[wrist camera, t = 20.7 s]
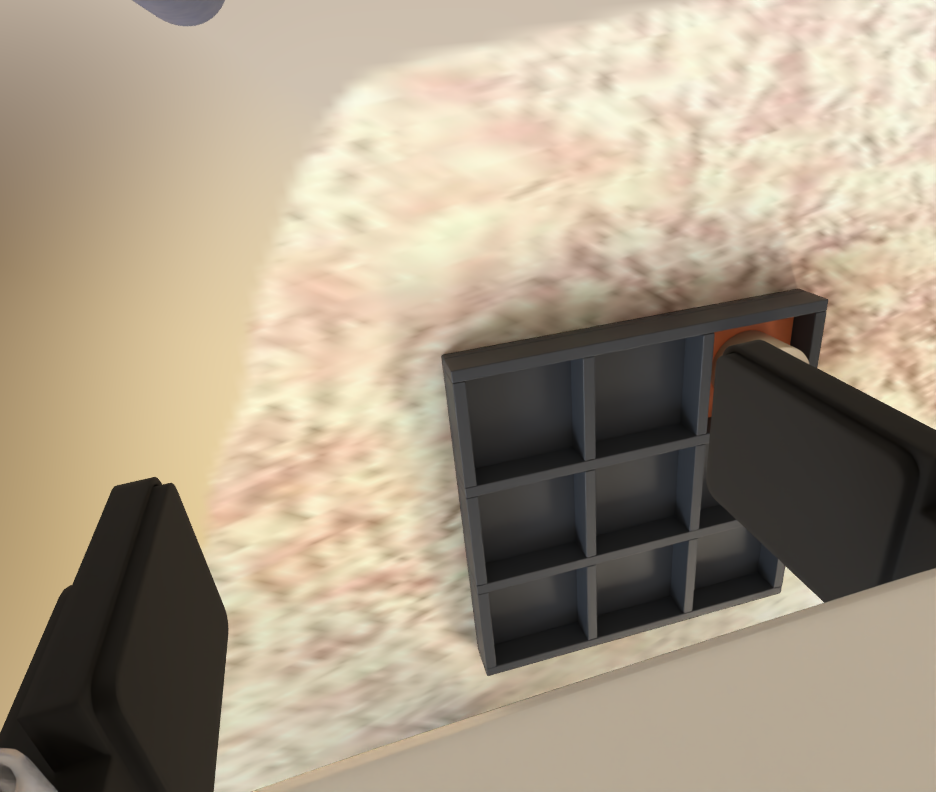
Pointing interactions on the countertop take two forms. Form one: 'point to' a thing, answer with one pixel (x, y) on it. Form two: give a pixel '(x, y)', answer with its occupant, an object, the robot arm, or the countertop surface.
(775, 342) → the cylinder
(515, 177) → the countertop surface
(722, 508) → the grid
